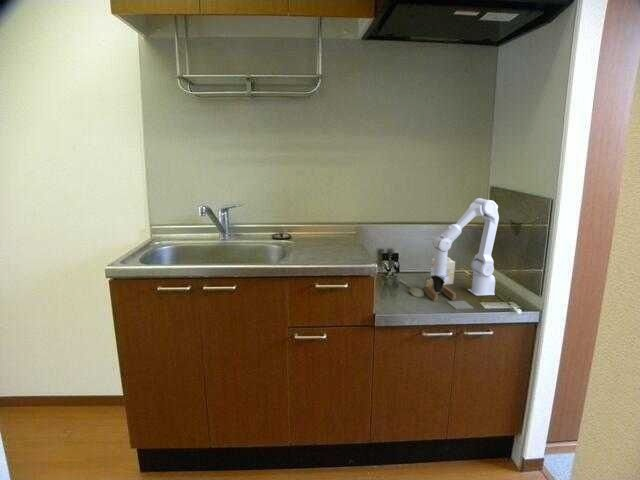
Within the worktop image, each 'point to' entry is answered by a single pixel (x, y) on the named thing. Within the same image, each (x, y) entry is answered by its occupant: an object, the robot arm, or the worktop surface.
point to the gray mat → (460, 305)
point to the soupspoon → (414, 290)
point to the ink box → (447, 270)
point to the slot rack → (445, 290)
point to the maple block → (431, 285)
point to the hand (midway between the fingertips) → (437, 291)
